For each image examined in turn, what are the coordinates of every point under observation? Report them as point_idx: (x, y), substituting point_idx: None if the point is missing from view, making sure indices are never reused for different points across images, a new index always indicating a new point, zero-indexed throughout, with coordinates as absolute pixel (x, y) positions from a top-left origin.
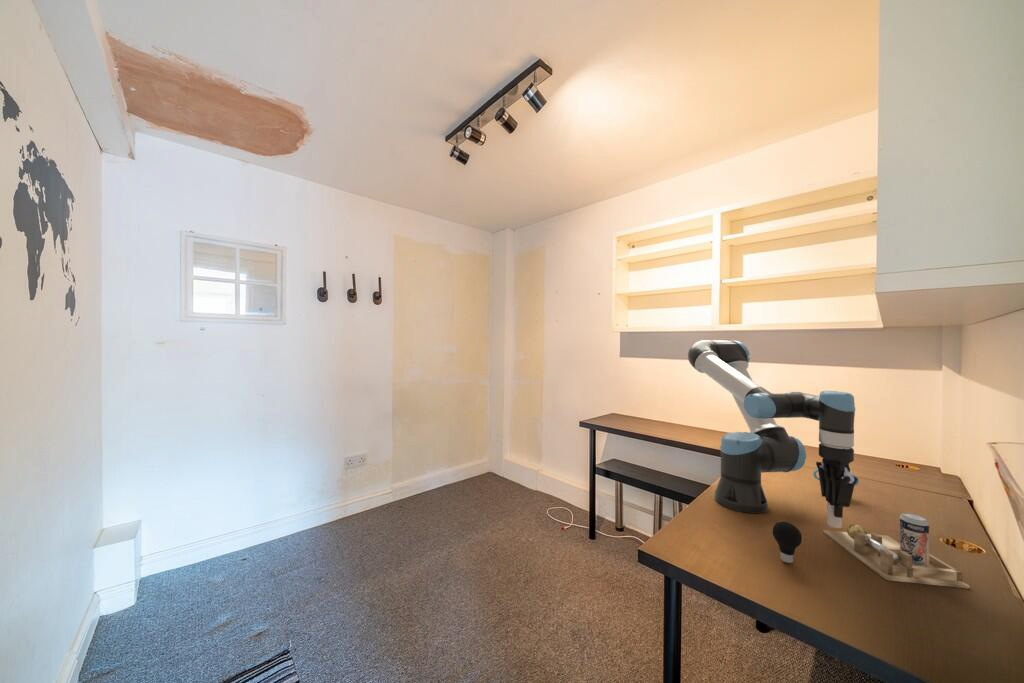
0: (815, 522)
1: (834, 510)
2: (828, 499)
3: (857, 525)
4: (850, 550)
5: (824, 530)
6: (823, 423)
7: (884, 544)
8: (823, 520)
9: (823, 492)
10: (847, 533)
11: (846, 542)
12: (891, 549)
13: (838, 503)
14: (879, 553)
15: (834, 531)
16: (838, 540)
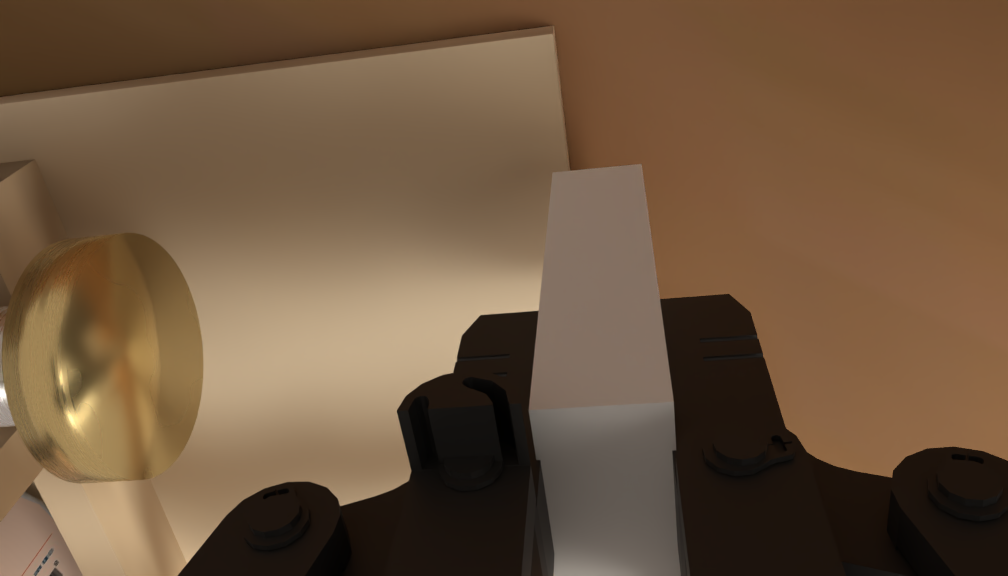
0: (905, 81)
1: (529, 377)
2: (683, 469)
3: (45, 435)
4: (4, 110)
5: (542, 54)
6: None
7: None
8: (993, 240)
9: (973, 554)
10: None
11: (240, 178)
12: (55, 516)
13: (244, 535)
14: None
15: None
16: (259, 100)
